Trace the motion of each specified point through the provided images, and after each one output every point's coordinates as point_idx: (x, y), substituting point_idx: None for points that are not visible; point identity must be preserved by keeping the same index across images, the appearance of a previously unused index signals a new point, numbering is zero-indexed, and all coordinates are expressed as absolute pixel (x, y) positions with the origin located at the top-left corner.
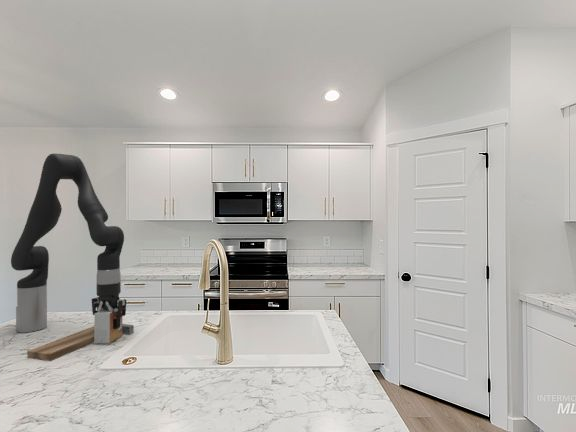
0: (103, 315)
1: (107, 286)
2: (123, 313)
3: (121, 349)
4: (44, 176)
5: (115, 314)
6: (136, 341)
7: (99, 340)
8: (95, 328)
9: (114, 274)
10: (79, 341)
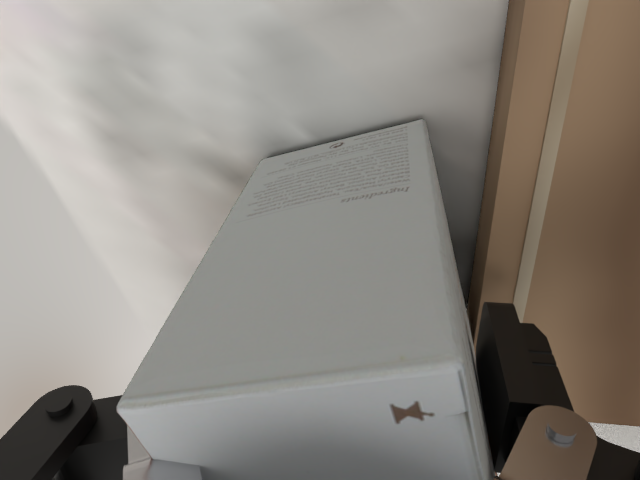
0: (248, 356)
1: None
2: (54, 477)
3: (52, 96)
4: None
5: (131, 437)
6: (109, 266)
7: (360, 142)
8: (416, 194)
9: None
10: (561, 9)
